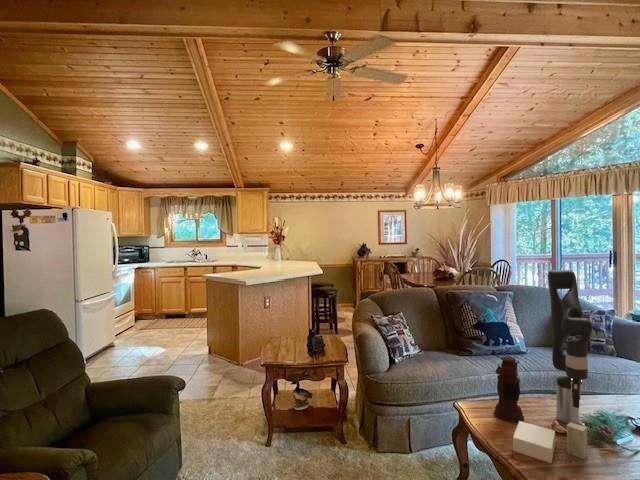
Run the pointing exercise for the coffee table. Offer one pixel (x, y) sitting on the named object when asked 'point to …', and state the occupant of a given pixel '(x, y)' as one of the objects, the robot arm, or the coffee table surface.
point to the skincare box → (577, 440)
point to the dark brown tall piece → (508, 392)
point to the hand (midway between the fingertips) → (576, 403)
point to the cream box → (534, 441)
